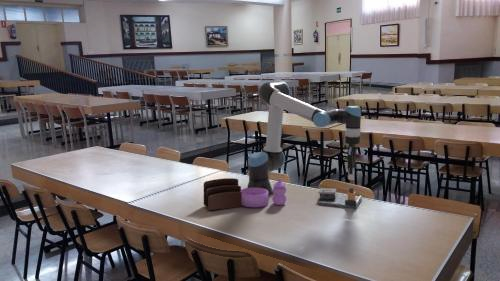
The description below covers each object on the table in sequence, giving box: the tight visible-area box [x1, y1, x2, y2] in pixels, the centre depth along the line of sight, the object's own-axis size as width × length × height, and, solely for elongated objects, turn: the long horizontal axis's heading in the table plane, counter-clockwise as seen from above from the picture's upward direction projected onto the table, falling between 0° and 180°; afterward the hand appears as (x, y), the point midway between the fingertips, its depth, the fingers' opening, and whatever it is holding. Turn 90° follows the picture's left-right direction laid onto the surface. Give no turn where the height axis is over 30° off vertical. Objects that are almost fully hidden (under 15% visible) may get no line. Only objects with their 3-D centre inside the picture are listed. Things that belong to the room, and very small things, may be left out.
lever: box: [347, 187, 356, 201], centre depth 210 cm, size 3×3×8 cm
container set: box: [240, 179, 287, 208], centre depth 220 cm, size 25×15×13 cm, turn 84°
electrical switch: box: [317, 188, 337, 199], centre depth 224 cm, size 9×5×9 cm
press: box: [317, 194, 363, 210], centre depth 218 cm, size 20×15×4 cm
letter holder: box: [203, 177, 244, 211], centre depth 219 cm, size 10×20×14 cm, turn 111°
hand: (351, 179), depth 217 cm, fingers closed
